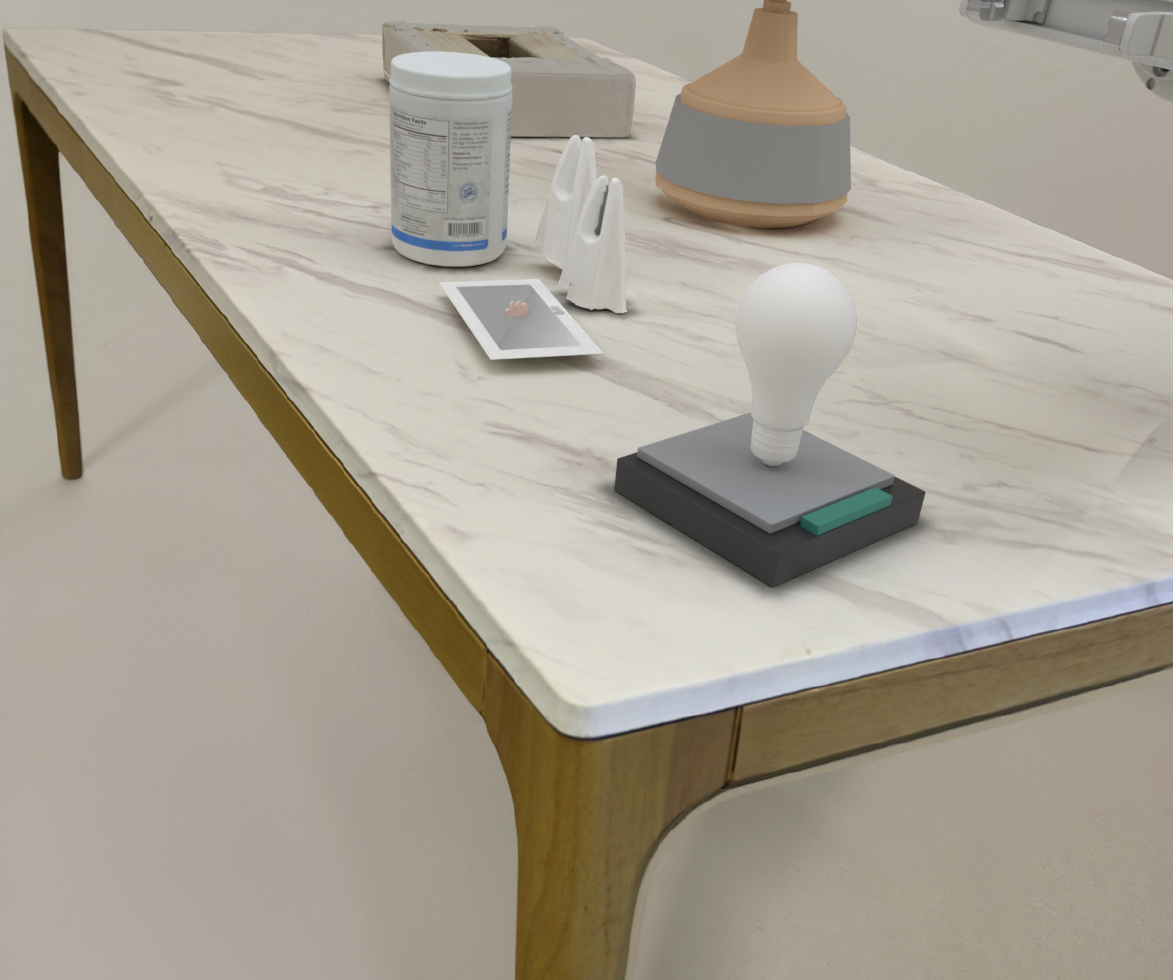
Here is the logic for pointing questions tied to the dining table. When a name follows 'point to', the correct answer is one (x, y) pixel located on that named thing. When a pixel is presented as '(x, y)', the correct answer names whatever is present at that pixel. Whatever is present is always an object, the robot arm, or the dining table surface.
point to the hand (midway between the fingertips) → (1040, 15)
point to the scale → (767, 498)
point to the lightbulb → (791, 350)
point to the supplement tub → (449, 157)
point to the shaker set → (585, 230)
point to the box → (534, 75)
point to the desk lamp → (758, 135)
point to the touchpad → (518, 319)
